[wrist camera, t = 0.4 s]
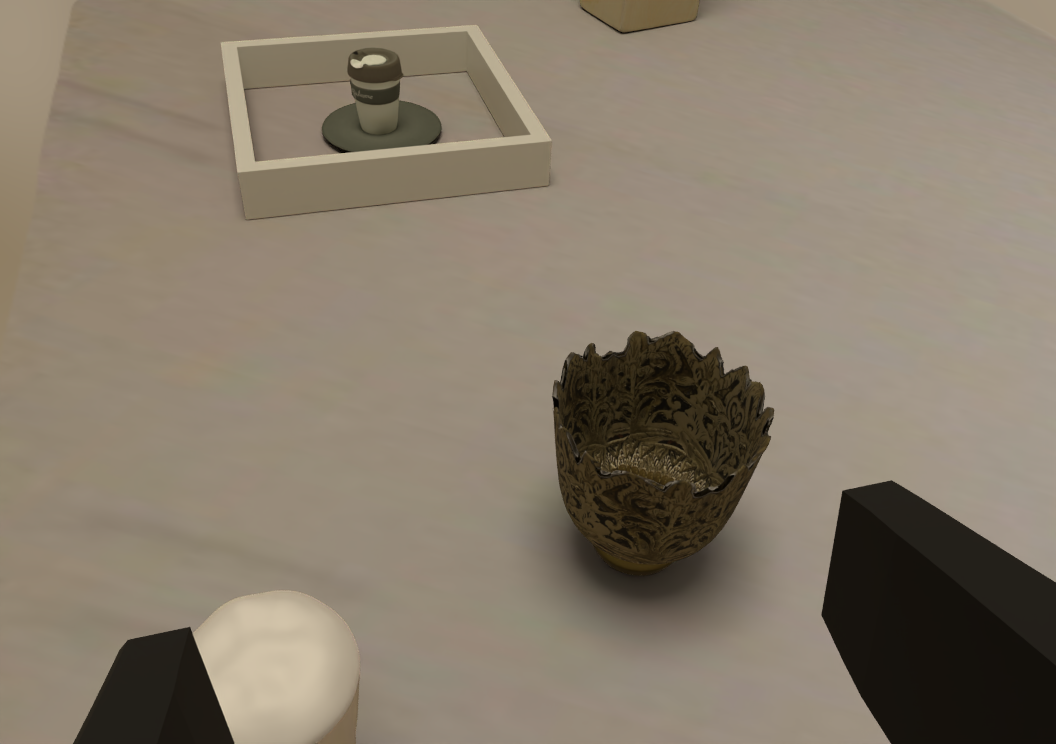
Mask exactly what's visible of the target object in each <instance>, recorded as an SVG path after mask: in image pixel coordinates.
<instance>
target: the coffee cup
mask: <svg viewBox="0 0 1056 744" xmlns="http://www.w3.org/2000/svg"><path fill="white" fill-rule="evenodd" d="M347 73H348V75H349V76H350V77H351V79H350V84H351V90H352V95H353V97H354V98H355V102H356V103H353V104H350V105H347V106H344V107H342V108H339V109H338V110H336V111H334V112H333V113H331V114H330V115H329V116H328V117H327V118H326V119H325V121H324V123H323V125H322V133H323V135H324V137H325V138H326V139H327V140H328V141H329V142H330V143H331V144H332V145H334V146H336V147H337V148H340V149H342V150H345V151H347V152H360V151H370V150H381V149H391V148H401V147H411V146H421V145H429V144H430V143H432V142H433V141H434V140H435V139H436V138H437V137H438V135H439V133H440V131H441V122H440V120H439V118H438V117H437V116H436V115H435V114H434V113H433V112H432V111H430V110H428V109H426V108H424V107H422V106H419V105H416V104H413V103H409V102H405V101H399V92H400V79H401V78H402V77H403V73H402V69H401V64H400V59H399V56H398V55H397V54H396V53H395V52H393V51H391V50H387V49H383V48H364V49H360V50H356V51H354V52H353V53H351V54H350V56H349V58H348V67H347Z"/></svg>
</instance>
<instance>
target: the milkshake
mask: <svg viewBox="0 0 1056 744" xmlns="http://www.w3.org/2000/svg"><path fill="white" fill-rule="evenodd" d="M193 636H194V639H195V641H196V644H197V647H198V649H199V652H200V654H201V657H202V660H203V662H204V665H205V667H206V670H207V673H208V675H209V678H210V680H211V683H212V686H213V688H214V691H215V693H216V696H217V699H218V701H219V704H220V706H221V709H222V712H223V714H224V717H225V720H226V722H227V725H228V727H229V730H230V733H231V735H232V738H233V740H234V743H235V744H356V727H357V717H358V700H359V680H360V656H359V651H358V647H357V643H356V641H355V638H354V636H353V634H352V632H351V630H350V628H349V627H348V625H347V624H346V622H345V621H344V620H343V619H342V618H341V617H340V615H338V614H337V613H336V612H335V611H334V610H333V609H331V608H330V607H328V606H327V605H325V604H324V603H322V602H320V601H319V600H317V599H315V598H313V597H311V596H309V595H306V594H303V593H300V592H296V591H287V590H278V591H269V592H264V593H259V594H253V595H248V596H242V597H238V598H235V599H233V600H231V601H229V602H227V603H225V604H224V605H222V606H221V607H219V608H218V609H217V610H216V611H215V612H214V613H213V614H212V615H211V616H210V617H209V618H208V619H207V620H206V621H205V622H204V623H203V624H202V625H201V626H200V627H199V628H198V629H197V630H196V631H195V632H194V633H193Z"/></svg>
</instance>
